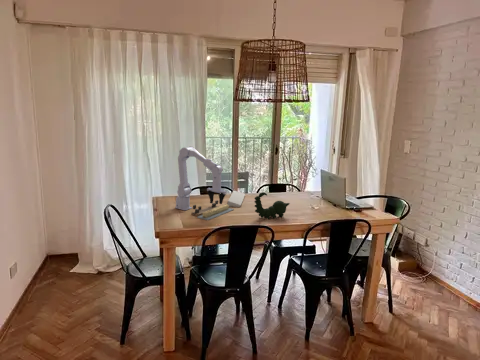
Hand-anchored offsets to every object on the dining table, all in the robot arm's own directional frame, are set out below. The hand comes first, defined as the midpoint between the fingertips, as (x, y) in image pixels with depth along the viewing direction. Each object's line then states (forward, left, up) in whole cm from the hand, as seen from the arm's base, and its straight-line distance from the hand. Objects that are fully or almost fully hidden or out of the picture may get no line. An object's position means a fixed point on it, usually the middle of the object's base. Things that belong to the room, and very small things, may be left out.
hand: (216, 202), depth 241 cm
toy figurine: (+34, +17, -8) cm, 39 cm away
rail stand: (-9, 0, -8) cm, 12 cm away
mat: (0, 0, -8) cm, 8 cm away
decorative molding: (-8, +37, -9) cm, 39 cm away
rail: (0, 0, -7) cm, 7 cm away
